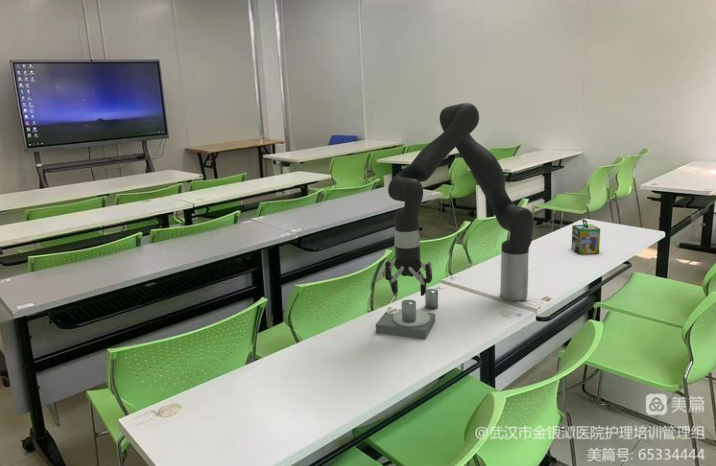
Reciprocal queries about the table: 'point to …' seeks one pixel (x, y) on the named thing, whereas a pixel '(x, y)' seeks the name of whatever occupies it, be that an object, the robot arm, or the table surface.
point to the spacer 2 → (431, 299)
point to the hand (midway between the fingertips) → (409, 293)
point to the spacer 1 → (408, 311)
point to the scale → (405, 324)
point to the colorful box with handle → (585, 238)
